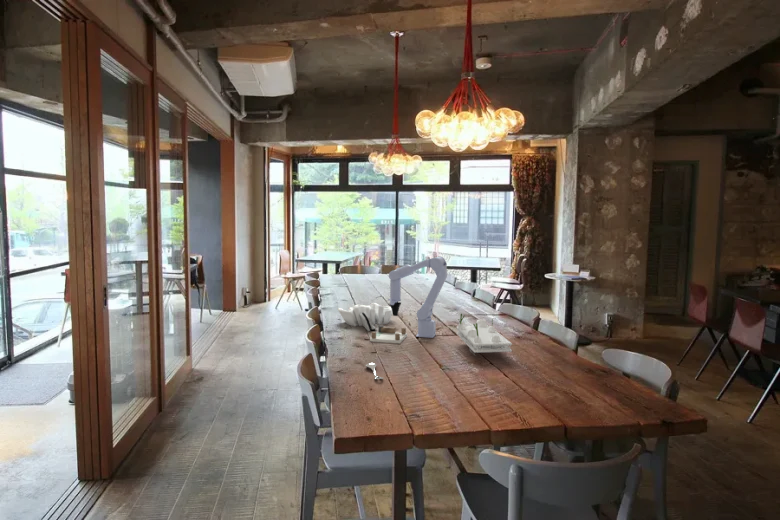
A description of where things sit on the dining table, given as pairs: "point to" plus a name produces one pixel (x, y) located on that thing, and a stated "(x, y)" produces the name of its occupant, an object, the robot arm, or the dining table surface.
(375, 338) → the stool seat
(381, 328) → the hammer
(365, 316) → the hinge
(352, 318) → the wavy white extrusion
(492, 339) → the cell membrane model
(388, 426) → the dining table surface
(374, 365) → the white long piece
